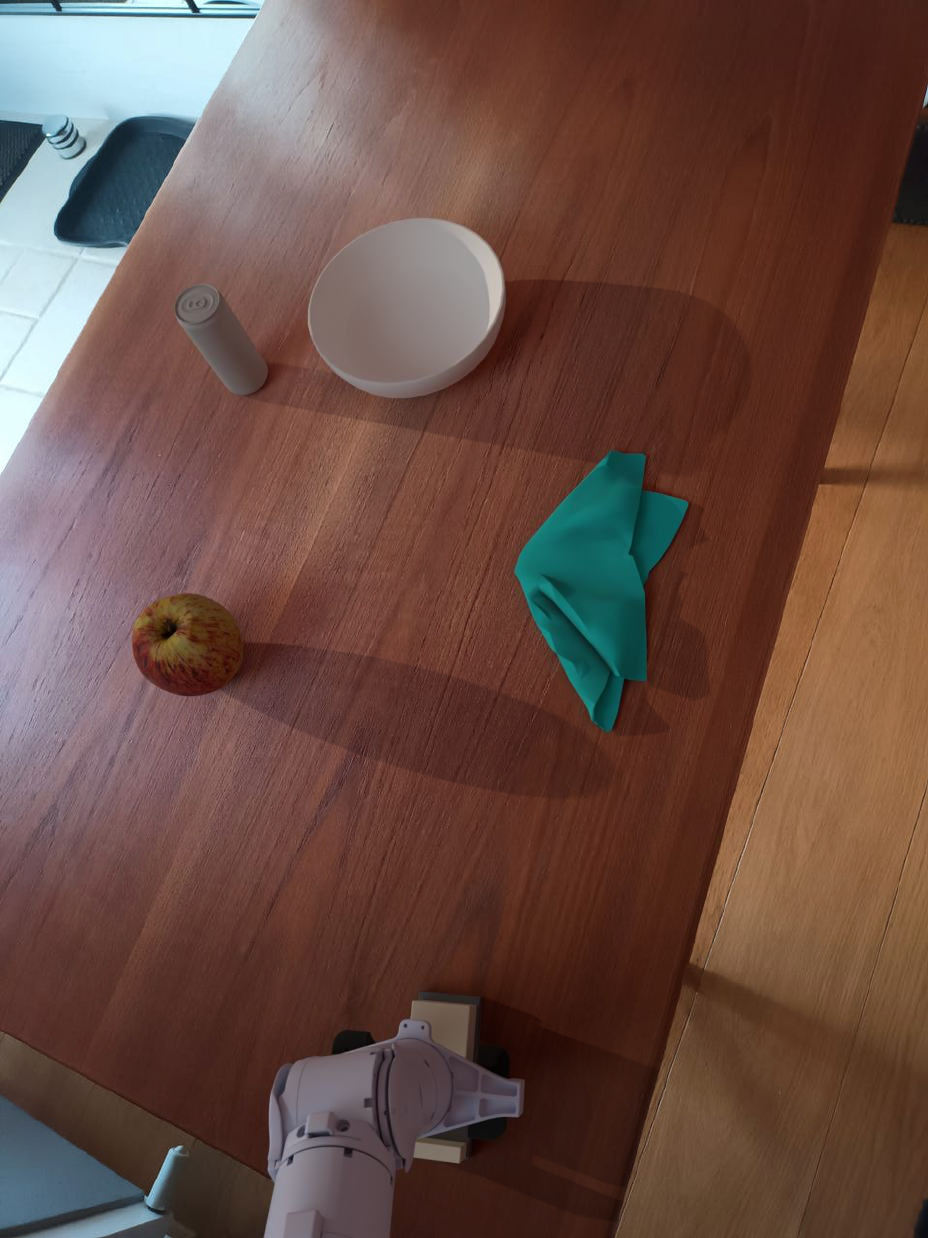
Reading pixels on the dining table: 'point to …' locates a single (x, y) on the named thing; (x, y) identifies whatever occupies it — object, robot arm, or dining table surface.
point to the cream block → (459, 1033)
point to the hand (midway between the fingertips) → (439, 1073)
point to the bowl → (408, 307)
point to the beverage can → (220, 338)
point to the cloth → (599, 578)
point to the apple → (187, 644)
